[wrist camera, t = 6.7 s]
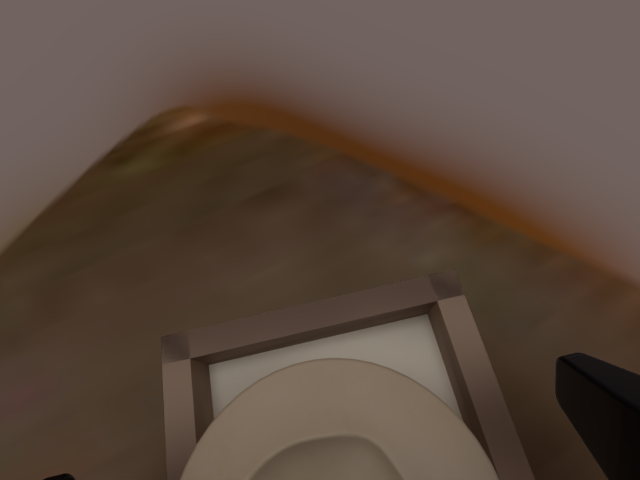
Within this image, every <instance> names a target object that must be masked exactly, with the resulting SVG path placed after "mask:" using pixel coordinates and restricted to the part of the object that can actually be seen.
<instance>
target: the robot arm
mask: <svg viewBox="0 0 640 480" xmlns="http://www.w3.org/2000/svg"><path fill="white" fill-rule="evenodd" d="M555 394H556V398H557V400H558V403H559V405H560V406H561V408H562V409H563V411H564V412H565V414H566V416H567V417H568V419H569V420H570V422H571V423H572V425H573V426H574V428H575V429H576V431H577V432H578V434H579V435H580V437H581V439H582V440H583V442H584V443H585V445H586V446H587V448H588V449H589V451H590V452H591V454H592V455H593V457H594V458H595V460H596V461H597V463H598V465H599V466H600V468H601V469H602V471H603V472H604V474H605V475H606V477H607V478H608V480H640V375H638V374H636V373H633V372H630V371H628V370H625V369H623V368H620V367H617V366H615V365H612V364H610V363H607V362H604V361H602V360H599V359H597V358H594V357H592V356H589V355H586V354H583V353H574V354H569V355H565V356H561V357H559V358H558V359H557V361H556V365H555ZM44 480H75V478H74V477H73V476H72V475H70V474H66V473H65V474H61V475H56V476H52V477H48V478H46V479H44Z"/></svg>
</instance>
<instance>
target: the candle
mask: <svg viewBox="0 0 640 480" xmlns="http://www.w3.org/2000/svg"><path fill="white" fill-rule="evenodd" d="M180 480H499V478H498V475H497V473H496V471H495V469H494V467H493V465H492V463H491V461H490V459H489V458H488V456H487V454H486V453H485V451H484V450H483V448H482V446H481V445H480V443H479V441H478V440H477V439H476V437H475V436H474V435H473V433H472V432H471V431H470V429H469V428H468V427H467V426H466V424H465V423H464V422H463V420H462V419H461V418H460V417H459V416H458V415H457V414H456V413H455V412H454V411H453V410H452V409H451V408H450V407H449V406H448V405H447V404H446V403H445V402H444V401H442V400H441V399H440V398H439V397H437V396H436V395H435V394H434V393H433V392H431V391H430V390H429V389H427V388H426V387H424V386H423V385H421V384H420V383H418V382H416V381H415V380H413V379H412V378H410V377H408V376H406V375H404V374H402V373H399V372H397V371H395V370H393V369H391V368H388V367H385V366H382V365H378V364H375V363H372V362H367V361H362V360H356V359H347V358H325V359H315V360H309V361H305V362H301V363H296V364H293V365H290V366H287V367H285V368H282V369H279V370H277V371H274V372H273V373H271V374H269V375H267V376H265V377H263V378H261V379H260V380H258V381H256V382H255V383H253V384H252V385H251V386H249V387H248V388H246V389H245V390H244V391H242V392H241V393H240V394H239V395H237V396H236V397H235V398H234V399H233V400H232V401H231V402H230V403H229V404H228V405H227V406H225V407H224V409H223V410H222V411H221V412H220V413H219V414H218V416H217V417H216V418H215V419H214V420H213V421H212V423H211V424H210V425H209V427H208V428H207V430H206V431H205V433H204V434H203V435H202V437H201V438H200V440H199V441H198V443H197V445H196V446H195V448H194V450H193V452H192V454H191V456H190V458H189V460H188V462H187V464H186V466H185V468H184V471H183V473H182V476H181V478H180Z"/></svg>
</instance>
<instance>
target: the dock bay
mask: <svg viewBox="0 0 640 480" xmlns="http://www.w3.org/2000/svg"><path fill="white" fill-rule="evenodd" d="M161 350H162V372H163V394H164V416H165V438H166V460H167V480H180V478H181V476H182V473H183V471H184V468H185V466H186V464H187V462H188V460H189V458H190V456H191V454H192V452H193V450H194V448H195V446H196V445H197V443H198V441H199V440H200V438H201V437H202V435H203V434H204V433H205V431H206V430H207V428H208V427H209V425H210V424H211V423H212V421H213V420H214V419H215V418H216V417H217V416H218V414H219V413H220V412H221V411H222V410H223V409H224V407H225V406H227V405H228V404H229V403H230V402H231V401H232V400H233V399H234V398H235V397H236V396H237V395H239V394H240V393H241V392H242V391H244V390H245V389H246V388H248V387H249V386H251V385H252V384H253V383H255V382H256V381H258V380H260V379H261V378H263V377H265V376H267V375H269V374H271V373H273V372H274V371H277V370H279V369H282V368H285V367H287V366H290V365H293V364H296V363H301V362H305V361H309V360H315V359H325V358H347V359H356V360H362V361H367V362H372V363H375V364H378V365H382V366H385V367H388V368H391V369H393V370H395V371H397V372H399V373H402V374H404V375H406V376H408V377H410V378H412V379H413V380H415V381H416V382H418V383H420V384H421V385H423V386H424V387H426V388H427V389H429V390H430V391H431V392H433V393H434V394H435V395H436V396H437V397H439V398H440V399H441V400H442V401H444V402H445V403H446V404H447V405H448V406H449V407H450V408H451V409H452V410H453V411H454V412H455V413H456V414H457V415H458V416H459V417H460V418H461V419H462V420H463V422H464V423H465V424H466V426H467V427H468V428H469V429H470V431H471V432H472V433H473V435H474V436H475V437H476V439H477V440H478V441H479V443H480V445H481V446H482V448H483V450H484V451H485V453H486V454H487V456H488V458H489V459H490V461H491V463H492V465H493V467H494V469H495V471H496V473H497V475H498V478H499V480H535V478H534V475H533V473H532V470H531V468H530V465H529V462H528V460H527V457H526V455H525V452H524V449H523V447H522V444H521V442H520V439H519V436H518V434H517V431H516V428H515V426H514V423H513V421H512V418H511V415H510V413H509V410H508V408H507V405H506V402H505V400H504V397H503V394H502V392H501V389H500V387H499V384H498V381H497V379H496V376H495V374H494V371H493V368H492V366H491V363H490V360H489V358H488V355H487V353H486V350H485V347H484V345H483V342H482V340H481V337H480V334H479V332H478V329H477V327H476V324H475V321H474V319H473V316H472V313H471V311H470V308H469V306H468V303H467V300H466V298H465V295H464V293H463V290H462V287H461V285H460V282H459V279H458V277H457V274H456V272H455V269H452V270H448V271H444V272H439V273H435V274H431V275H426V276H422V277H418V278H413V279H409V280H405V281H400V282H396V283H392V284H388V285H383V286H379V287H375V288H370V289H366V290H362V291H357V292H353V293H349V294H344V295H340V296H336V297H331V298H327V299H323V300H318V301H314V302H310V303H305V304H301V305H297V306H292V307H288V308H284V309H279V310H275V311H271V312H266V313H262V314H258V315H254V316H249V317H245V318H241V319H236V320H232V321H228V322H223V323H219V324H215V325H210V326H206V327H202V328H197V329H193V330H189V331H184V332H180V333H176V334H171V335H167V336H163V337H161Z"/></svg>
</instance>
